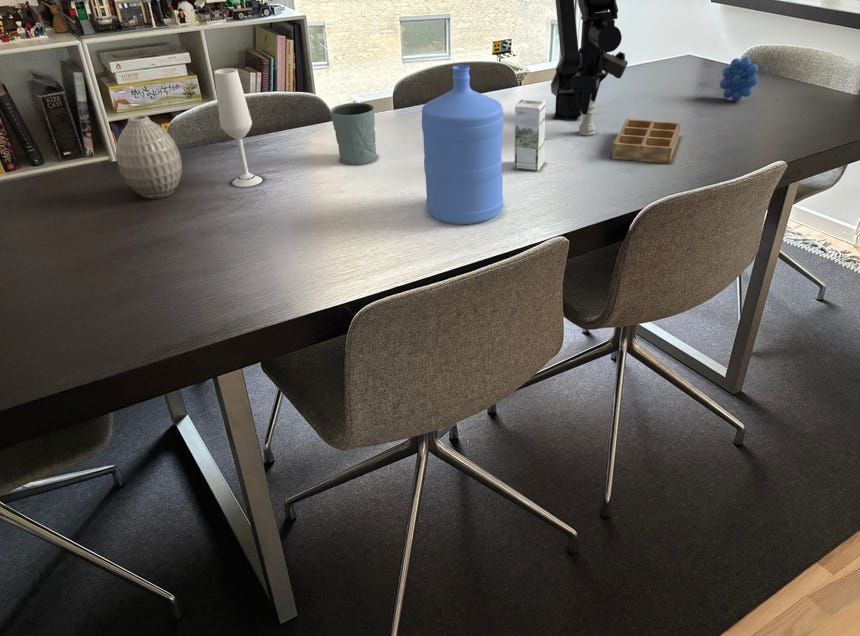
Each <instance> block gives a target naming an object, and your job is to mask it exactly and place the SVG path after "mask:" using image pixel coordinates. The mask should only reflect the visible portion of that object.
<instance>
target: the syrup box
mask: <svg viewBox="0 0 860 636" xmlns="http://www.w3.org/2000/svg"><path fill="white" fill-rule="evenodd" d="M546 103H547V102H546V100H537V99H536V100H534V99H521V100H519V101H518V102H517V103H516V105H515V108H514V169H515V170H525V171H535V172H538V171H539V170H540V169H541V167H542V166H543V164H544V162H545V129H546Z"/></svg>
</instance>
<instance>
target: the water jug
mask: <svg viewBox="0 0 860 636" xmlns="http://www.w3.org/2000/svg"><path fill="white" fill-rule="evenodd" d="M451 68H452V72H453V75H452V84H453V87H452V89H451V90H449V91H447V92H446V93H444V94H441V95H440V96H437V97H435V98H433V99H431V100H429V101H428V102H426V103H425V104H424V105H422V109H421V130H422V138H423V139H422V140H423V155H424V156H423V157H424V158H423V168H424V169H423V170H424V174H425V191H426V193H425V194H426V199H425V202H426V211H427V212H428V214H429V215H430V216H431V217H433V218H434V219H436V220H438V221H439V222H442V223H443V222H444V223H448V224H452V225H453V224H454V225H471V224H479V223H482V222H483V223H484V222H486V221H489V220H491V219H494V218H496V217H498V215H500V214H501V212H502V210H503V207H504V196H503V174H502V172H503V171H502V170H503V169H502V168H503V167H502V147H503V137H504V135H503V134H504V133H503V131H504V112H503V111H504V110H503V105H502V104H501V102H499V101H498V100H496V99H494V98H492V97H490V96H488V95H485V94H483V93H480V92H478V91H475V90H473V89H472V88H471V85H470V82H471V81H470V80H471V75H470V69H471V67H470V65H467V64H456V65H453V66H452V67H451Z"/></svg>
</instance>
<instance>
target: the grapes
mask: <svg viewBox="0 0 860 636" xmlns="http://www.w3.org/2000/svg"><path fill="white" fill-rule="evenodd" d="M758 68H759V67H758V65H757V64H755V63H752V59H751V58H750V57H749V56H748V57H747V56H745V57H743V58H741V59H740V58H733V59H732V60H731V62H730V63H729V66H726V67H725V68H723V70H722V71H721V72H722V75H721V76H722V77H723V78H722V79H721V80H720V82H719V88H720V89H723V90H724V91H723V97H724V98H725V99H730V98H731V99H732V101H734V102H738V101H739V102H740V100H742V98H743V97H745V98H747V97H749V96H750V95H752V92H753V88H752V87H755V86H756V85H757V84H758V82H759V77H758V76H757V75H756V73H757V72H758Z"/></svg>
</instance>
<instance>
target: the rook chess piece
mask: <svg viewBox="0 0 860 636" xmlns="http://www.w3.org/2000/svg"><path fill="white" fill-rule="evenodd" d="M595 107H596V103H594V101H591V100H590V104H589V109H588V113H587V115H583V114H582V115H583V116H582V120H581V122H580V125H579V126H578V134H579V135H580V136H583V137H591V136H594V135H595V134H596V133H597V132H596V130H597V127H596V125H595V123H594V113H595V110H594V109H595Z"/></svg>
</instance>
